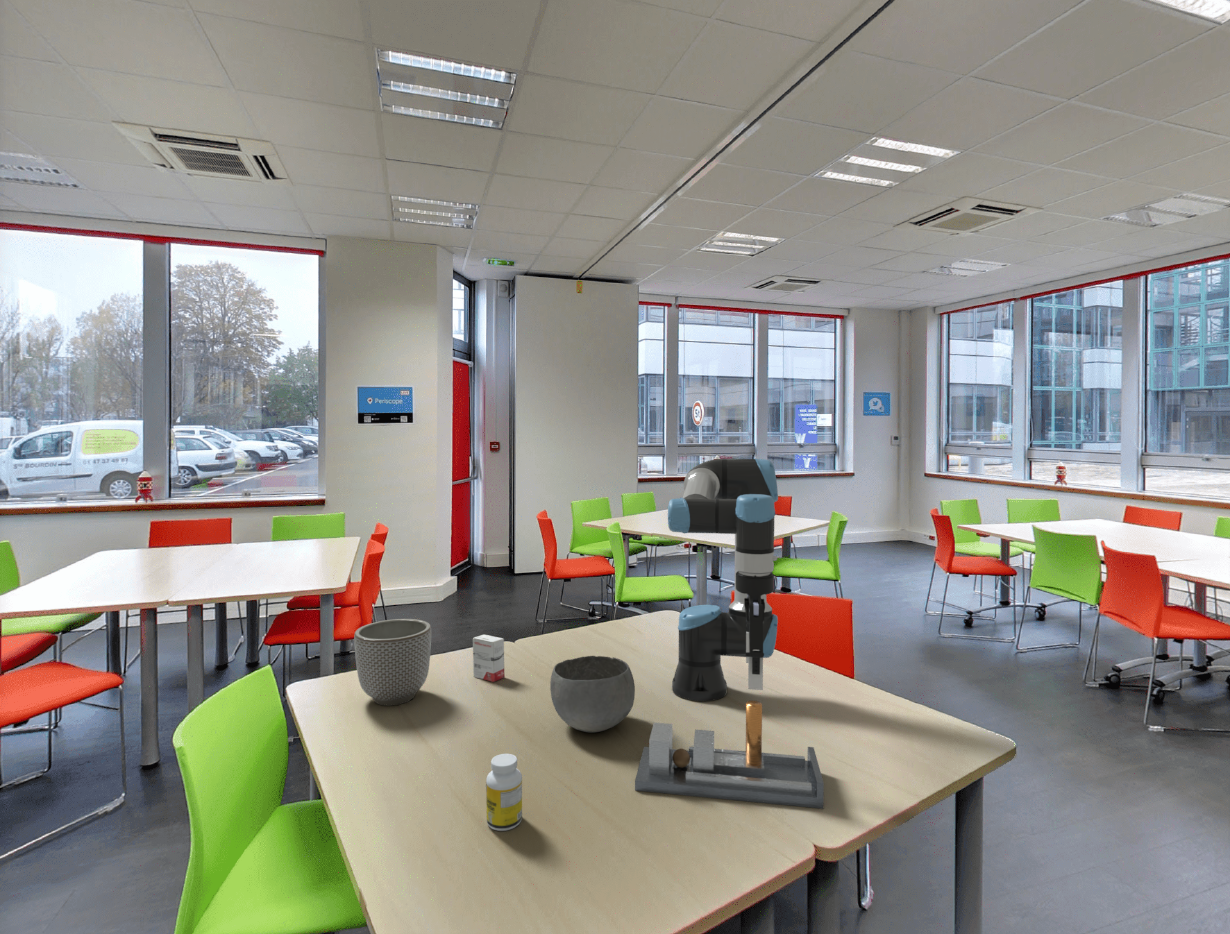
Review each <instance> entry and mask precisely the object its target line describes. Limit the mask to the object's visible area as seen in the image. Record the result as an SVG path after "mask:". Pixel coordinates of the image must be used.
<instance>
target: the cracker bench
mask: <svg viewBox="0 0 1230 934" xmlns="http://www.w3.org/2000/svg"><path fill="white" fill-rule="evenodd" d="M648 743H649V744H648V746H643V749H642V753H641V757H640V760H639V764H638V768H637V772H636V775H635V779H634V791H637V792H649V793H659V794H667V795H679V796H689V797H699V798H707V799H709V798H710V799H719V800H720V799H721V800H729V801H738V802H739V801H740V802H750V803H761V804H769V805H779V806H780V805H781V806H790V807H791V806H792V807H793V806H794V807H802V808H812V809H821V810H823V809H824V797H825V796H824V790H825V786H824V785H825V783H824V780H823V777H822V776H823V775H822V773H821V772H822V771H821V769H820V766H819V762H818V758H817V754H816V751H815V747H813V746H807V757H805V756H804V755H795V754H794V755H793V754H783V753H782V754H781V753H772V752H762V757H763V761H764V779H763V778H752V777H741V776H730V775H719V774H708V773H697V772H693V746H689V747H688V750H687V749H685V750H686V751H687V752H688V753H689V755H690V762H689V764H688V765H687V766H686V767H684V768H680V767H677V766H676V765H675V764H674V762H673V754H674V752H675V751H676V750H677V749H676V748H675V749H674V748H673V724H672V723H665V722H663V723H662V722H661V723H660V722H653V724H652V729H651V732H650V735H649V740H648ZM714 753H726V754H737V755H746V750H745V751H744V750H736V749H735V750H734V749H722V748H714ZM806 759H807V760H806Z"/></svg>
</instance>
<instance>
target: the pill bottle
mask: <svg viewBox="0 0 1230 934" xmlns="http://www.w3.org/2000/svg"><path fill="white" fill-rule="evenodd" d="M517 767H518V758H517V756H516V755H514V754H511V753H500V754H497V755H495V756H493V757H492V758H491V761H490V769H491V771H490V772H488V774H487V776H486V778H485V779H486V782H485V783H486V784H485V787H486V789H485V790H486V798H485V799H486V824H487V825H488V827H489V828H490V829H492V830H495V831H499V832H506V831H510V830H513V829H515V828H516V827H517V826H518V825H520V823H521V822H522V820H523V775H522V772H521V771H520V769H518V768H517Z"/></svg>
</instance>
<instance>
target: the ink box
mask: <svg viewBox="0 0 1230 934" xmlns="http://www.w3.org/2000/svg"><path fill="white" fill-rule="evenodd" d="M472 657H473V658H472V663H473V664H472V665H473V678H477V679H481V680H485V681H489V682H492V683H495V682H497V681H499V680H502V679H503V678H505V638H502V637H497V636H493V635H488V634H481V635H478V636H474V637H473V638H472Z"/></svg>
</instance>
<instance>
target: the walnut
mask: <svg viewBox="0 0 1230 934" xmlns="http://www.w3.org/2000/svg"><path fill="white" fill-rule="evenodd" d="M686 750H687V749H684V748H678V749H676V751H675V752H674V754H673V762H674V764H675V765H676V766H677V767H680V768H684V767H686V766H687V765H688V764H689V762H690V755H689V753H688V752H687V751H686Z"/></svg>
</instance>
